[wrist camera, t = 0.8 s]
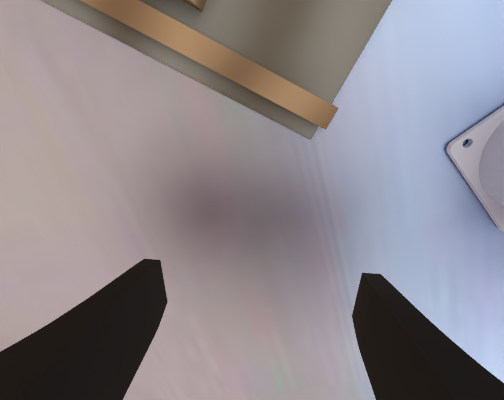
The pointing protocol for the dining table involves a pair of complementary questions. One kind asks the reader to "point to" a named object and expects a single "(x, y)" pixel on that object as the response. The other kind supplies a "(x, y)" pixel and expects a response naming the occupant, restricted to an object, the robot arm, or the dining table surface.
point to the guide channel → (249, 47)
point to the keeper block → (196, 3)
